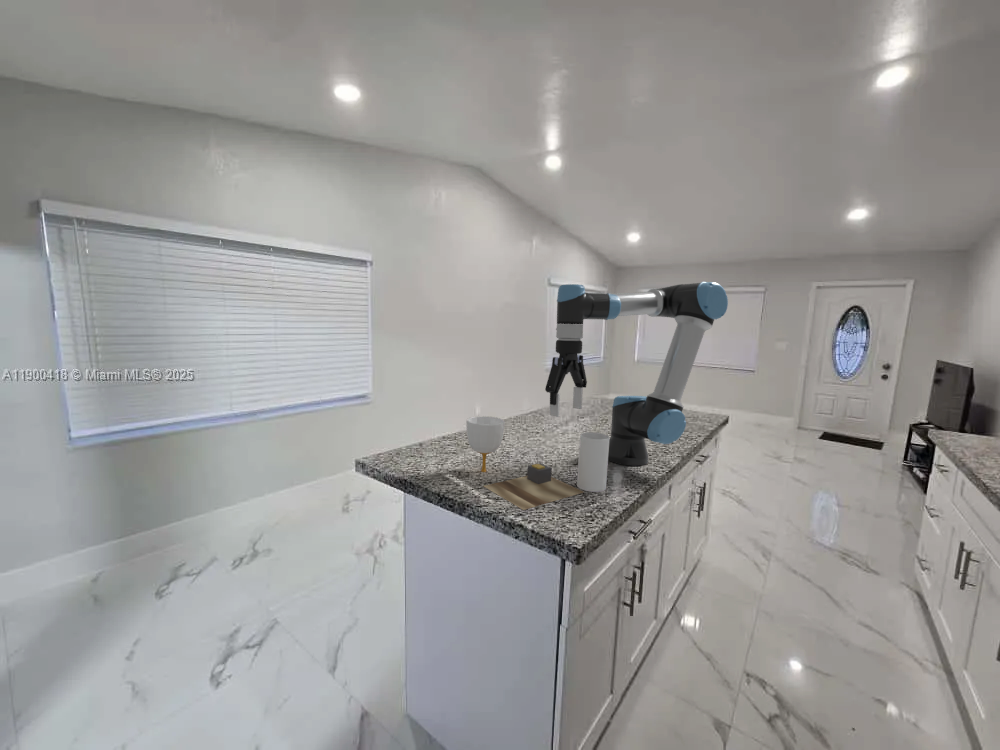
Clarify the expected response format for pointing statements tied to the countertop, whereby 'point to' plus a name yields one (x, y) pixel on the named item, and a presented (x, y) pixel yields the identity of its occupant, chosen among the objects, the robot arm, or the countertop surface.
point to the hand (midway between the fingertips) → (566, 412)
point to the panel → (532, 491)
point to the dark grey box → (539, 473)
